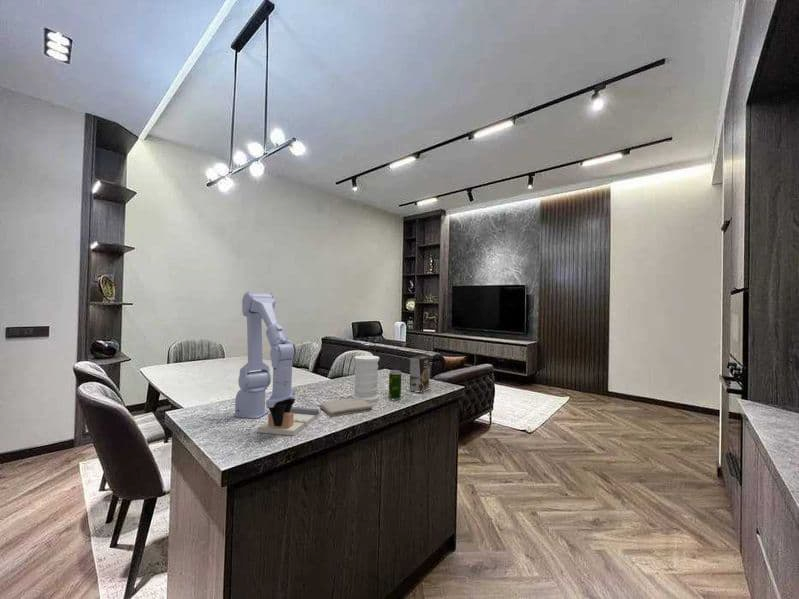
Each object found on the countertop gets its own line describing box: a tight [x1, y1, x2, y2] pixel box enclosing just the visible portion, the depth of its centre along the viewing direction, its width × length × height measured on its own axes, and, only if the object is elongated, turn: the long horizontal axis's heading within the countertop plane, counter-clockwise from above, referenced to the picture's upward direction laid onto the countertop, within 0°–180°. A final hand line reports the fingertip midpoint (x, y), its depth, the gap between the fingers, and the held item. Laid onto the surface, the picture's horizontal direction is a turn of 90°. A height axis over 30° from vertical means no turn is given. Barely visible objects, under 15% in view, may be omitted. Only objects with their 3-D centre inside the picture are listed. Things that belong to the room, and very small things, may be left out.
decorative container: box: [351, 354, 380, 403], centre depth 148 cm, size 12×12×18 cm
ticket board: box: [290, 406, 322, 427], centre depth 120 cm, size 13×12×3 cm
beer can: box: [388, 369, 402, 401], centre depth 149 cm, size 5×5×12 cm
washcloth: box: [319, 397, 373, 417], centre depth 132 cm, size 12×18×3 cm, turn 122°
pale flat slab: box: [257, 412, 305, 437], centre depth 109 cm, size 12×7×5 cm, turn 80°
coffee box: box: [408, 355, 431, 392], centre depth 165 cm, size 9×6×16 cm
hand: (280, 423), depth 108 cm, fingers closed on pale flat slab, 3 cm apart
